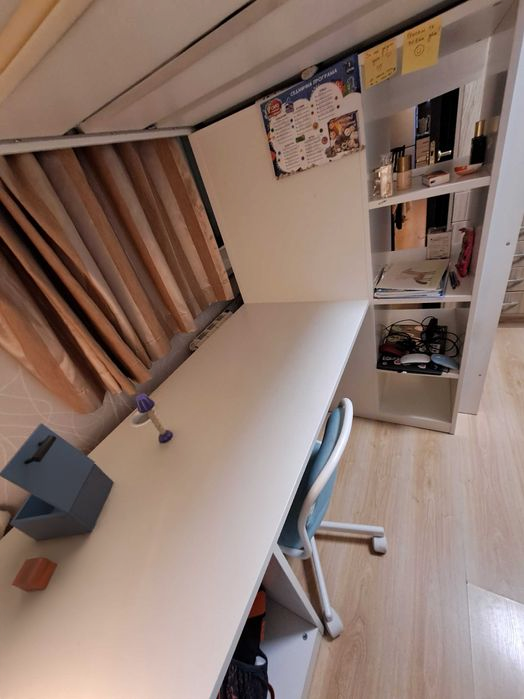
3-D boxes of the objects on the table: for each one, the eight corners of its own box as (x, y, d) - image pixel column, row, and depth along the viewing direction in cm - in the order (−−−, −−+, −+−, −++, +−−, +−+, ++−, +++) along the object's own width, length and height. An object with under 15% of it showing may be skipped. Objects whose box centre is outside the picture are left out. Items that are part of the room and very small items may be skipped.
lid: (-3, 475, 55) (16, 467, 54) (39, 424, 66) (55, 416, 64) (65, 513, 63) (82, 507, 62) (93, 462, 74) (108, 457, 73)
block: (26, 592, 61) (11, 584, 59) (40, 567, 65) (25, 558, 62) (44, 589, 60) (29, 582, 58) (57, 564, 64) (43, 556, 62)
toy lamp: (163, 430, 90) (136, 392, 81) (176, 429, 89) (150, 390, 80) (157, 443, 86) (128, 404, 77) (170, 442, 85) (142, 403, 76)
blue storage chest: (35, 540, 71) (9, 524, 66) (64, 491, 81) (43, 473, 76) (91, 532, 68) (68, 514, 64) (113, 482, 79) (95, 463, 74)
